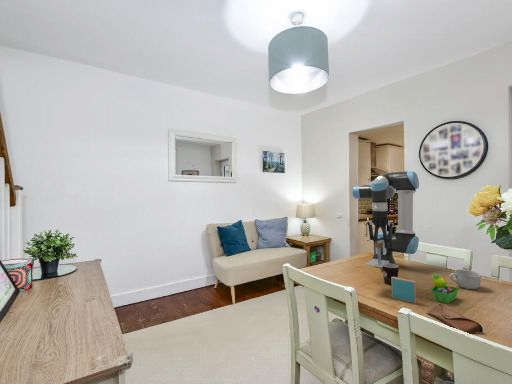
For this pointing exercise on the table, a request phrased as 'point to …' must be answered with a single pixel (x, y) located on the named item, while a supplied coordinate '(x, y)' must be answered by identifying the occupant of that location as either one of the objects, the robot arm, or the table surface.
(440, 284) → the fruit basket
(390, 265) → the coffee mug
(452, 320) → the sunglasses case
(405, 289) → the tile
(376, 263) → the grey post stand
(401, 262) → the table surface
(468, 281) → the teacup
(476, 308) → the table surface
